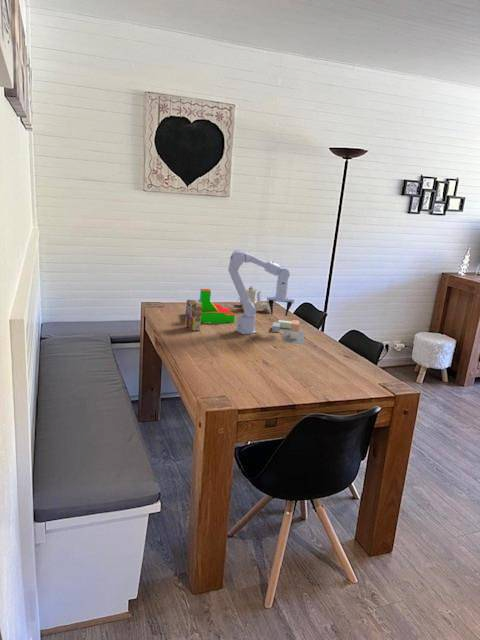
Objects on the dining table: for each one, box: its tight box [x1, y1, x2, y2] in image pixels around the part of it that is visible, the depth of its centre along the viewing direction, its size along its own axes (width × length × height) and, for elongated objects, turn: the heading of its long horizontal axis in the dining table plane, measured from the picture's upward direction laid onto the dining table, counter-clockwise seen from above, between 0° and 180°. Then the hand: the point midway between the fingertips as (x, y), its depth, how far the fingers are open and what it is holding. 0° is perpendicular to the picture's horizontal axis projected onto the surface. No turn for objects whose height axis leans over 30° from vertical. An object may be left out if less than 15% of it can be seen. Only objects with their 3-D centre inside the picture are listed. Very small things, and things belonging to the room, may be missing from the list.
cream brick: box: [290, 330, 300, 339], centre depth 252 cm, size 8×4×4 cm, turn 174°
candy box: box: [184, 298, 202, 332], centre depth 252 cm, size 9×4×15 cm, turn 39°
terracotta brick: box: [290, 319, 300, 332], centre depth 251 cm, size 8×4×4 cm, turn 174°
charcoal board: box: [282, 329, 306, 345], centre depth 253 cm, size 22×11×1 cm, turn 174°
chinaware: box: [236, 285, 275, 313], centre depth 303 cm, size 28×17×17 cm, turn 58°
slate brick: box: [271, 321, 281, 333], centre depth 262 cm, size 8×4×4 cm, turn 174°
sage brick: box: [277, 319, 292, 330], centre depth 269 cm, size 8×4×4 cm, turn 84°
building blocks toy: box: [197, 288, 235, 324], centre depth 274 cm, size 19×25×18 cm
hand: (278, 314), depth 256 cm, fingers open, 7 cm apart
